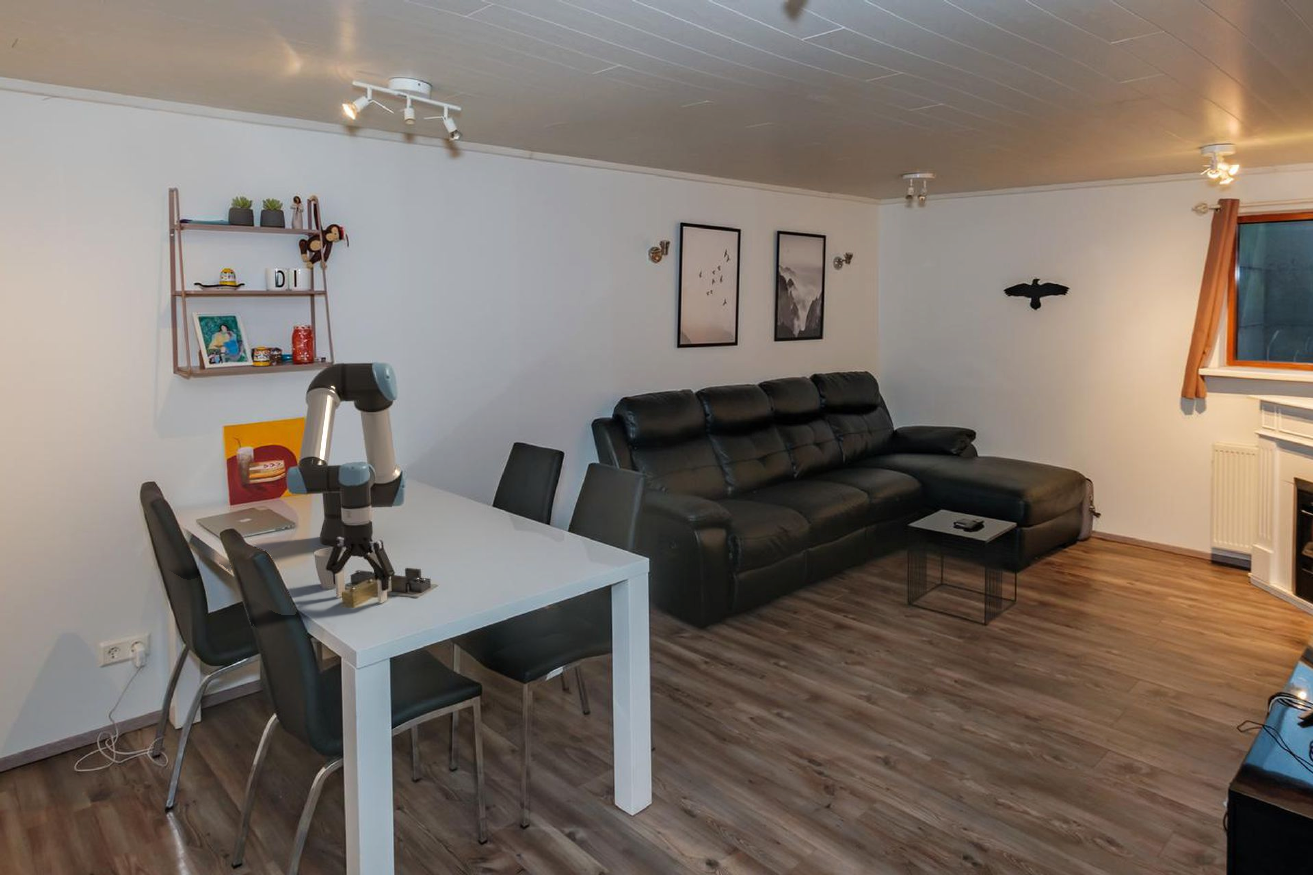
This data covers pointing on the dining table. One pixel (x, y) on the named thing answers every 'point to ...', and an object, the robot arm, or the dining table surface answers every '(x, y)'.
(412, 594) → the mat
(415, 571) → the grey assembly fixture
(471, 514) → the dining table surface
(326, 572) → the cup
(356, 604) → the gold rectangular block
